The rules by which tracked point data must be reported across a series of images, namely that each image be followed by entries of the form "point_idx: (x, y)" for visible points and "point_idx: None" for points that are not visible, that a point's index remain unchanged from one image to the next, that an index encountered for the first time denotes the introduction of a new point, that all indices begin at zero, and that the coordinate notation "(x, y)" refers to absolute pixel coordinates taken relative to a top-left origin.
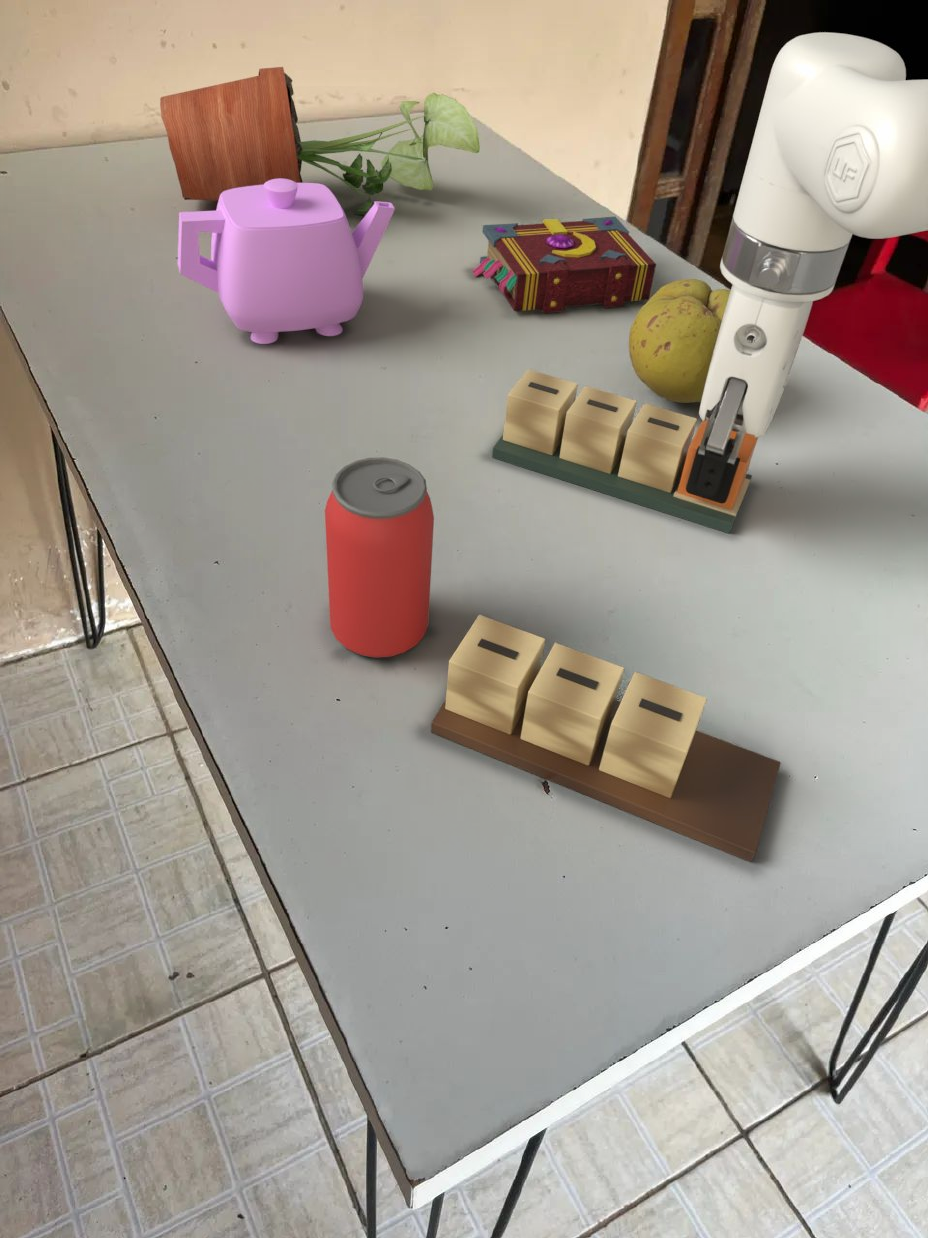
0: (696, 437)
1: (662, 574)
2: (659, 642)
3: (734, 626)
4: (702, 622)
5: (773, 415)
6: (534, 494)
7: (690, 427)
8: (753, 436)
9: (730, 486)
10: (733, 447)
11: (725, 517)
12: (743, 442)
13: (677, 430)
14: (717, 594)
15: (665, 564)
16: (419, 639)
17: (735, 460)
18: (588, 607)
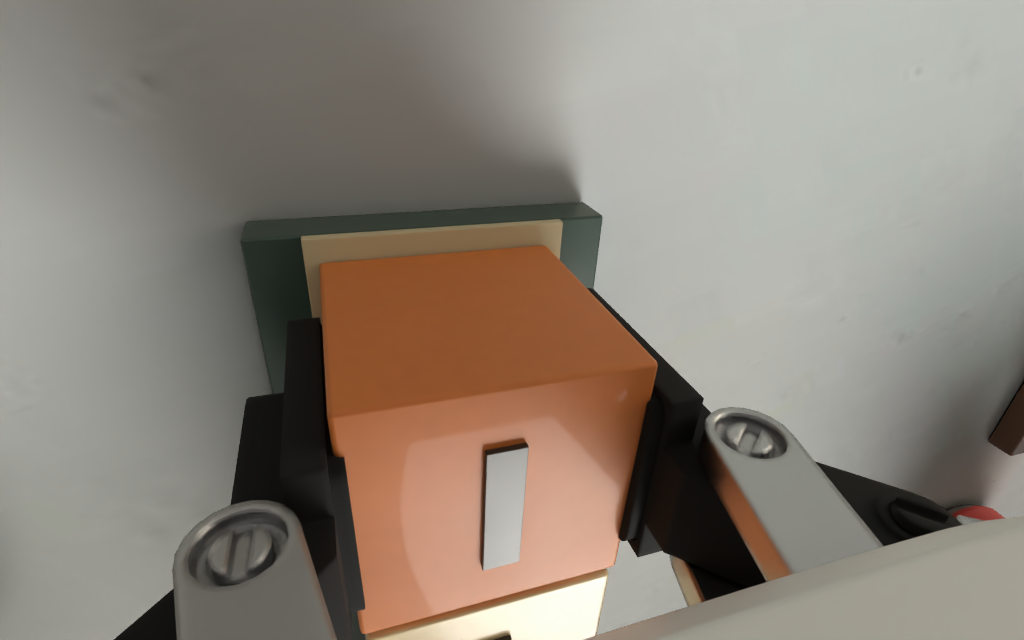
0: (539, 580)
1: (789, 299)
2: (980, 226)
3: (946, 74)
4: (931, 159)
5: (832, 590)
6: (607, 590)
7: (459, 621)
8: (386, 425)
9: (624, 323)
10: (910, 516)
11: (579, 247)
12: (483, 440)
13: (508, 634)
14: (841, 153)
15: (755, 306)
16: (981, 510)
17: (715, 417)
18: (891, 374)
